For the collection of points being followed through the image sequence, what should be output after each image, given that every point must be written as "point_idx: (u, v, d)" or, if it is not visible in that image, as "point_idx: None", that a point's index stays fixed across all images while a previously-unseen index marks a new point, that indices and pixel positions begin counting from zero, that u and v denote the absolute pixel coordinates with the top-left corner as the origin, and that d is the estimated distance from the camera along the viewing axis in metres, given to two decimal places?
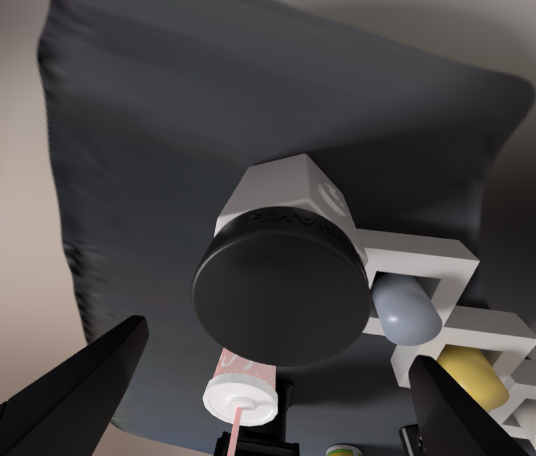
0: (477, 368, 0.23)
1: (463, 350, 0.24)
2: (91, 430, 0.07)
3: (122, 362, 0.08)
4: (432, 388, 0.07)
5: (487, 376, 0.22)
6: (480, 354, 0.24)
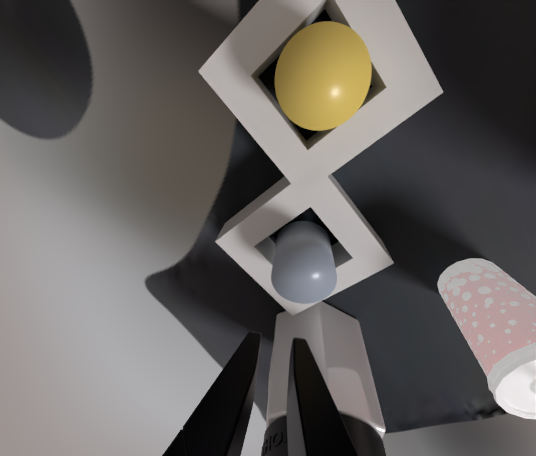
0: None
1: None
2: (238, 454, 0.07)
3: (254, 382, 0.08)
4: (292, 368, 0.08)
5: None
6: None
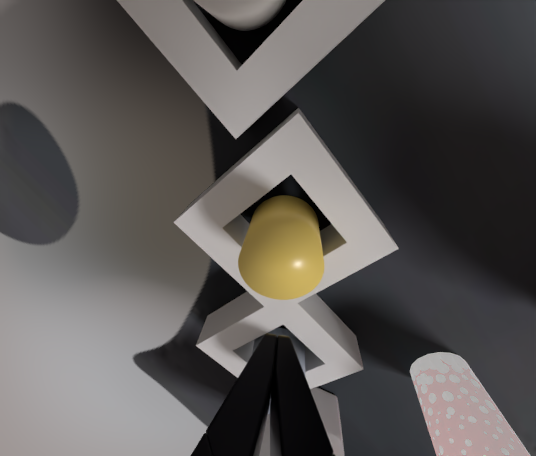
0: None
1: None
2: None
3: (272, 384, 0.07)
4: None
5: None
6: None
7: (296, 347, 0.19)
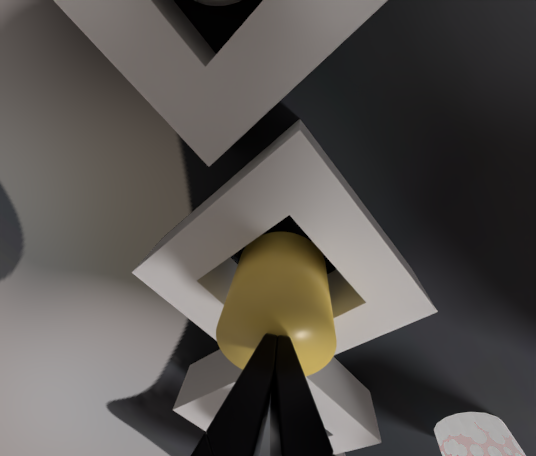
0: None
1: None
2: None
3: (272, 384, 0.07)
4: None
5: None
6: None
7: None
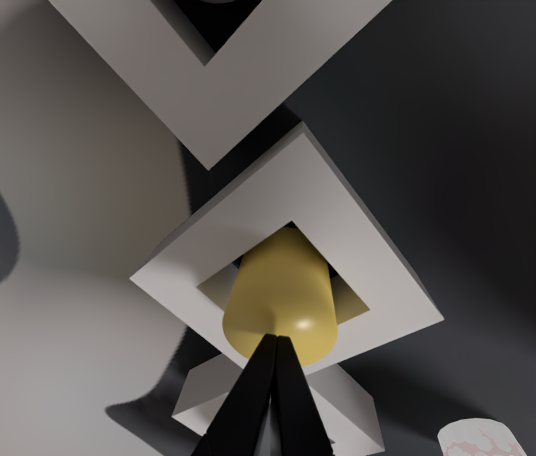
0: None
1: None
2: None
3: (272, 384, 0.07)
4: None
5: None
6: None
7: None
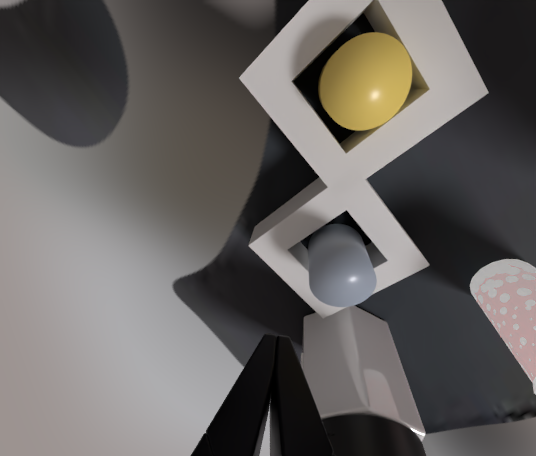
0: None
1: None
2: None
3: (272, 384, 0.07)
4: None
5: None
6: (320, 98, 0.15)
7: (359, 238, 0.18)
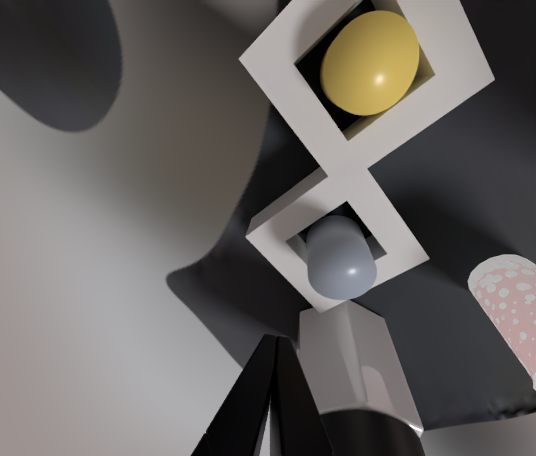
0: (336, 104, 0.14)
1: (335, 104, 0.16)
2: None
3: (272, 385, 0.07)
4: None
5: (332, 99, 0.13)
6: (322, 83, 0.15)
7: (358, 230, 0.17)
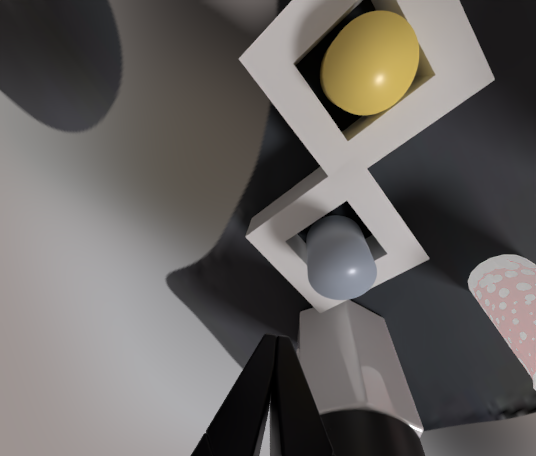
0: (336, 104, 0.14)
1: (335, 104, 0.16)
2: None
3: (272, 385, 0.07)
4: None
5: (332, 99, 0.13)
6: (322, 83, 0.15)
7: (358, 230, 0.17)
